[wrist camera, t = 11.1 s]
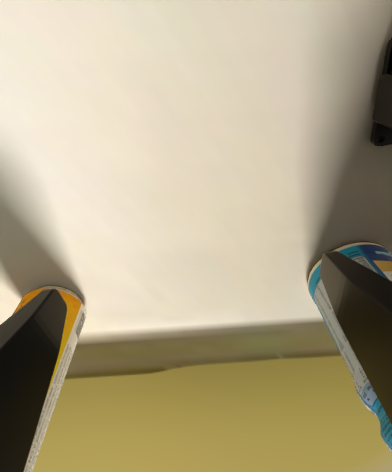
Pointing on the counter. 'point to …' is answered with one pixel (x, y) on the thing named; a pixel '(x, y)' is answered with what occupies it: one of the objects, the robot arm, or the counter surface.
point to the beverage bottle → (379, 262)
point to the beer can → (68, 344)
